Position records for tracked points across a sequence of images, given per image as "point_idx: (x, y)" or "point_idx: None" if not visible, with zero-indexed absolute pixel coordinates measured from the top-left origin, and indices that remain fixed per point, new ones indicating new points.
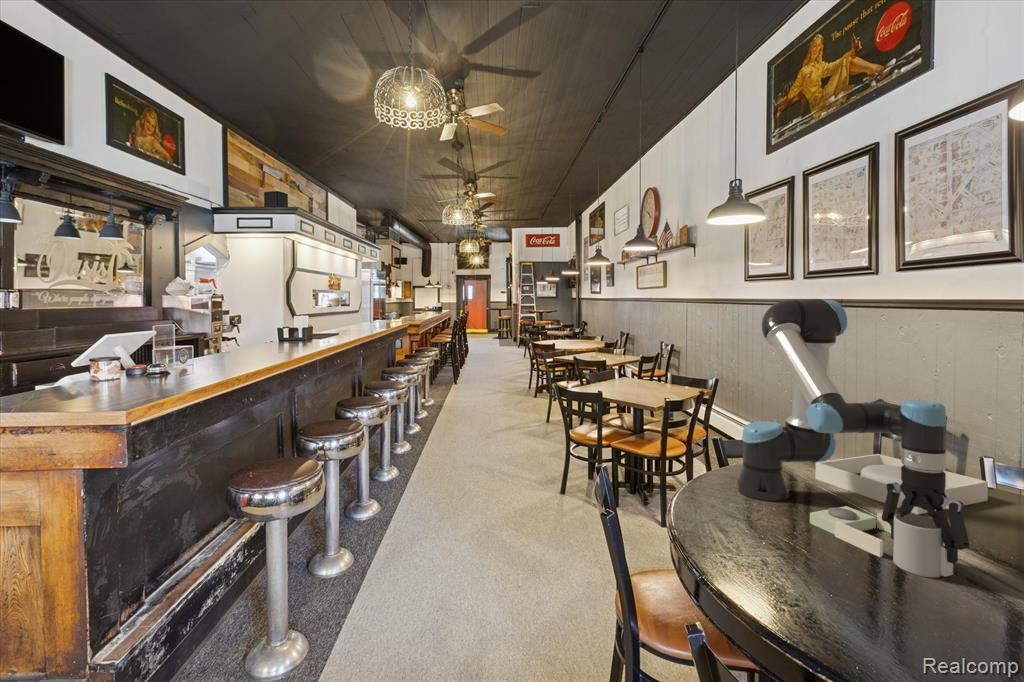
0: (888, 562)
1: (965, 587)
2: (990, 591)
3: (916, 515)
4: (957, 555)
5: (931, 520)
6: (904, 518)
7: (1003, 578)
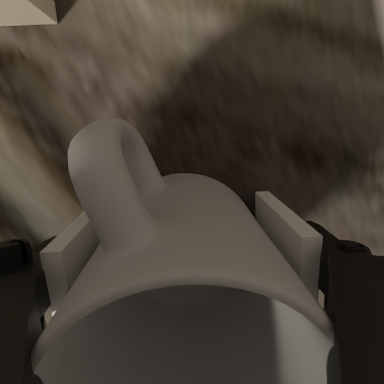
0: None
1: (317, 219)
2: (362, 167)
3: (78, 318)
4: (332, 236)
5: (199, 277)
6: (51, 355)
7: (340, 2)
